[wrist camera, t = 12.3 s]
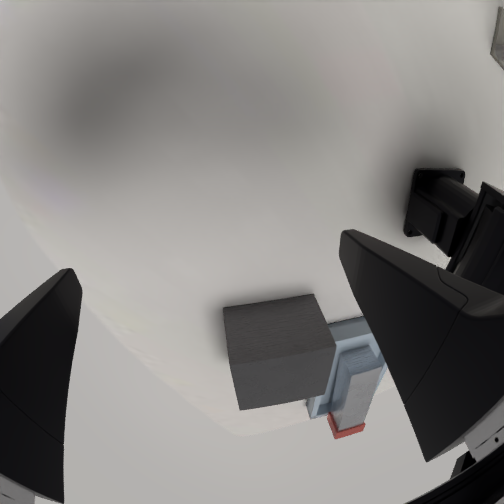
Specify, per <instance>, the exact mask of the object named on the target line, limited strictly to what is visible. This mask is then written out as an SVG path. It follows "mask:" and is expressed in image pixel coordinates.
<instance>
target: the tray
mask: <svg viewBox="0 0 504 504" xmlns="http://www.w3.org/2000/svg"><path fill="white" fill-rule="evenodd" d="M327 325H328V327H329V329H330V331H331V334H332V336H333V338H334V341H335V343H336V345H337V348H336V352H335V356H334V360H333V365H332V369H331V373H330V377H329V380H328V384H327V388H326V392H325V395H321V396H316V397H312V398H308V399H307V405H306V406H307V410H308V413H309V416H310V419H314V418H318V417H322V416H326V415H328V412H330V411H331V406H332V400H333V395H334V389H335V383H336V377H337V370H338V364H339V357H340V353H341V352H345V351H349V350H352V349H356V348H360V347H364V346H367V345H369V346H370V347H371V349H372V351H373V352H374V354H375V355H376V357H377V359H378V360H379V362H380V364H381V365H382V370H381V373H380V376H379V380H378V383H377V386H376V389H375V391H376V390H377V388H378V386H379V384H380V382H381V380H382V378H383V376H384V374H385V372H386V369H387V367H388V366H387V364H386V362H385V360H384V358H383V355H382V353H381V351H380V349H379V347H378V344H377V342H376V340H375V338H374V336H373V334H372V332H371V330H370V328H369V325H368V323H367V321H366V319H365V317H364V316H363V317H358V318H354V319H350V320H345V321H341V322H336V323H331V324H327ZM374 393H375V392H374Z"/></svg>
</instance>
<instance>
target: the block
mask: <svg viewBox="0 0 504 504" xmlns="http://www.w3.org/2000/svg"><path fill="white" fill-rule="evenodd" d="M223 313H224V322H225V331H226V339H227V348H228V356H229V364H230V369H231V374H232V378H233V383H234V387H235V392H236V396H237V400H238V405H239V409H240V410H247V409H254V408H260V407H267V406H272V405H278V404H283V403H288V402H293V401H298V400H303V399H308V398H312V397H316V396H321V395H325V392H326V388H327V384H328V380H329V377H330V373H331V369H332V365H333V360H334V356H335V352H336V348H337V345H336V343H335V341H334V338H333V336H332V334H331V331H330V329H329V327H328V325H327V322H326V320H325V318H324V316H323V314H322V311H321V309H320V307H319V305H318V303H317V300H316V298H315V296H314V294H311V295H305V296H299V297H293V298H287V299H280V300H274V301H268V302H261V303H254V304H248V305H241V306H233V307H226V308H223Z"/></svg>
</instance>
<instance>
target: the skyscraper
mask: <svg viewBox="0 0 504 504" xmlns="http://www.w3.org/2000/svg"><path fill="white" fill-rule="evenodd" d="M491 55H492V57H493V58H494V59H495V60H496V61H497V62H498V63H499V65H500V66H501V67H502V68H503V69H504V9H503V8H502V7H499V11H498V18H497V24H496V29H495V35H494V40H493V45H492V49H491Z"/></svg>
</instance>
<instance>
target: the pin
mask: <svg viewBox="0 0 504 504" xmlns="http://www.w3.org/2000/svg"><path fill="white" fill-rule="evenodd" d="M381 370H382V365H381V364H380V362H379V360H378V359H377V357H376V355H375V354H374V352H373V351H372V349H371V347H370V346H369V345H367V346H364V347H360V348H356V349H352V350H349V351H345V352H341V353H340V357H339V364H338V370H337V377H336V383H335V389H334V395H333V400H332V406H331V411H330V412H328V417H327V420H328V422H329V425H330V428H331V430H332V433H333V436H334V438H335V439H338V438H341V437H345V436H348V435H352V434H354V433H358V432H361V431H363V429H364V427H365V423H364V420H365V417H366V415H367V412H368V409H369V406H370V404H371V401H372V397H373V395H374V392H375V389H376V386H377V383H378V380H379V376H380V373H381Z"/></svg>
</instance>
